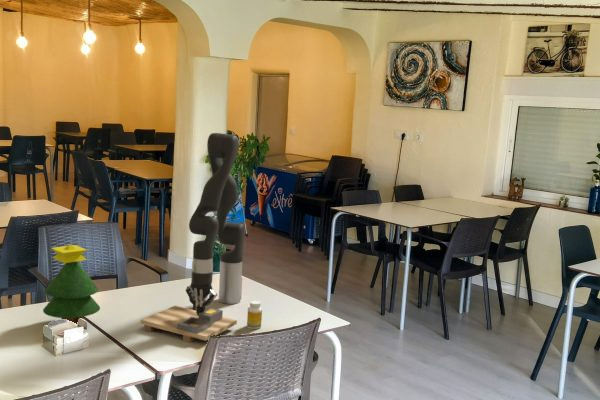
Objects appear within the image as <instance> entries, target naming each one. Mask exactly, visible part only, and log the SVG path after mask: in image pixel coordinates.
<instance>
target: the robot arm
mask: <svg viewBox="0 0 600 400" xmlns="http://www.w3.org/2000/svg"><path fill="white" fill-rule="evenodd" d="M239 146H240V142H239V138H238V137H237V136H236V135H235V134H227V133H222V132H221V133H220V132H212V133H210V134H209V136H208V138H207V143H206V147H207V148H206V149H207V154H208V160H209V164H210V168H211V175H212V176H210V178H209V179H208V180H207V181H206V182H205V185H204V186H203V190H202V193H201V197H200V200H199V203H198V205H197V206H196V209H195V211H194V212H193V214H192V215H191V217H190V219H189V223H188V228H189V231H190V232H191V233H192V234H194V235H199V236H200V235H201V236H205V238H204V240H203V239H202V240H197V241H195V242H194V243H193V251H192V261H191V280H190V281H191V282H192V284H191V283H190V285H191V287H190V288H187V287H186V289H185V292H186V294H187V296H188V299H189V298H190V300H191V302H192V303H195V304H196V313H197V316H199V313H201V312H204V311H206V307H207V306H209V305H211V303H213V301H214V300H215V299H216V297H218V302H220V303H222V304H225V305H226V304H227V305H229V304H230V305H233V304H239V303H241V300H242V293H243V292H242V291H243V257H244V245H245V237H246V235H245V234H246V229H245V228H246V227H245V225H244V224H243V223H238V222H228V221H227V217H228V215H229V214H230V212H231V211H232V209H233V208H234V207H235V206H236V204H237V202H238V198H239V194H238V184H237V182H236V179H235V178H234V176H233V175H232V174H231V170H232V169H233V165H234V163H235V161H236V158H237V155H238V153H239ZM213 212H216V217H214V216H211V215H207V214H208V213H213ZM216 238H217V239H218V243H220V244H222V245H227V246H228V245H229V246H234V248H233V249H231V250H228V251H224V252H222V253H221V254H220V259H219V278H218V280H219V281H218V282H219V283H218V293H217V292H214V290H213V286H212V283H213V273H214V269H213V268H214V261H213V257H214V256H213V254H214V244H215V241H216ZM190 300H189V301H190ZM191 302H190V303H191ZM192 303H191V304H192Z"/></svg>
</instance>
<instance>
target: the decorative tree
mask: <svg viewBox="0 0 600 400" xmlns="http://www.w3.org/2000/svg"><path fill="white" fill-rule="evenodd" d="M51 250H52V251H54V252H55V253H56V254H55V256H54V257H52V259H53V260H56V261H59V262H60V263H62V264H64V265H63V266H62V267H61V269H60V270H59V272H58V273H57V274H56V275H55V277H54V278H53V280H51V282H50V283H49V285H48V286H47V287H46V288H45V290H44V294H45V295H47V296H49V297H51V299H50V301H48V303H47V304H46V305H45V307H44V308H43V310H42V311H43V314H45V315H46V316H49V317H53V318H59V319H67V320H69V321H72V322H74V323H76V324H77V322H78V319H79V318H82V319H83V320H84V318H83V317H88V316H91V315H94V314H96V313H98V312H99V311H100V310H101V306H100V305H99V304H98V302H97V301H96V300H95V299H94V298H93V297H92V295H95V294H97V293H98V292H99V288H98V286H97V284H96V283H94V281H93V280H92V278H91V277H90V276H89V275H88V273H87V272H86V271H85V270H84V268H83V267H82V266H81V264H80V263H79V262H81V261H87V260H88V259H87V258H86V257H84V256H83V254H84V253H85V252H87V250H88V249H86V248H83V247H81V246H79V245H76V244H74V245H73V244H71V243H70V244H68V245H63V246H62V245H61V246H57V247H51Z"/></svg>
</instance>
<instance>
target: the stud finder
mask: <svg viewBox="0 0 600 400" xmlns="http://www.w3.org/2000/svg"><path fill="white" fill-rule="evenodd" d="M222 317H223V309H219V308H214V307H210V308H209V309H205V311H204V312H201V313H199V319H204V320H208V321H211V324H212V323H214V322H216V321H218V320H220V319H222Z"/></svg>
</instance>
